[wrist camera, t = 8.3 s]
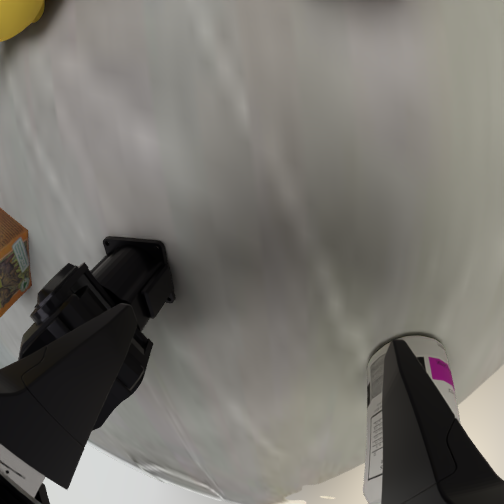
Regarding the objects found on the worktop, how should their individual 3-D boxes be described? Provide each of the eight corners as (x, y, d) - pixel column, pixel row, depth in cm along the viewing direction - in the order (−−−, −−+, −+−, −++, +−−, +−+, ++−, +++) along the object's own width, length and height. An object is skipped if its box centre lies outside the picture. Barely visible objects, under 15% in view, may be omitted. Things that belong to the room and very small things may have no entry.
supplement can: (457, 332, 23) (487, 480, 11) (425, 383, 28) (433, 508, 15) (380, 327, 25) (384, 494, 13) (358, 380, 29) (348, 514, 17)
